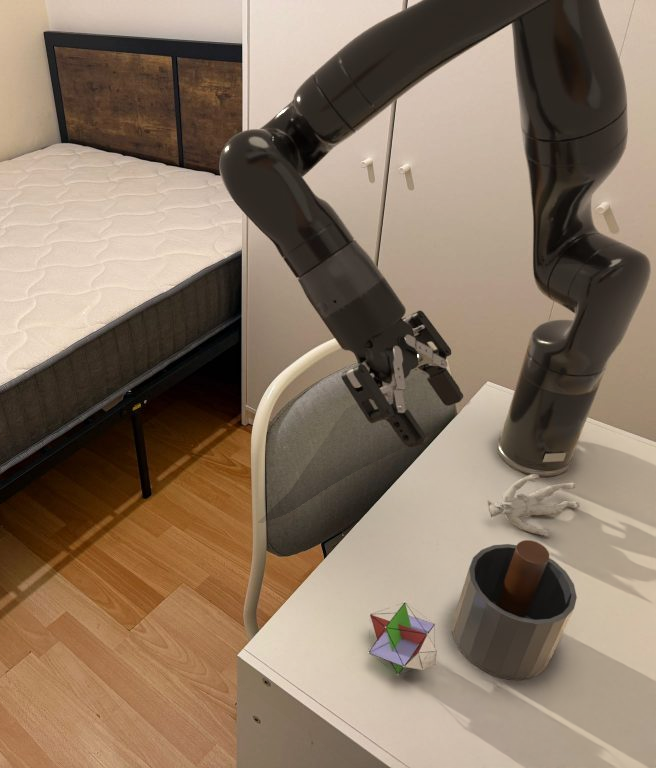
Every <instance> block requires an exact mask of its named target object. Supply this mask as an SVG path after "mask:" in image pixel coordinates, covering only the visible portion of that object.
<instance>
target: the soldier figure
mask: <svg viewBox="0 0 656 768" xmlns="http://www.w3.org/2000/svg"><path fill="white" fill-rule="evenodd" d="M539 478H540V476H539V475H537V474H531V475H530V474H528V475H527V476H525V477H523V478H521V479H519V480H517V481H515V482H514V483H513V484H511V485H510V486H509V488H508V489H507V490H506V491H505V493H503V495H502V500H501V501H502V502H501V503H499V502H493V501H491V500H489V499H488V500H487V505H488V512H489V515H490V519H492V520H493V519H494V518H495V517H497V516H500V515H502V514H503V515H505V517H506V519H507V521H508V522H510V523H511V524H513V525H514V526H516V527H517V528H518V529H520V530H522V531H526V532H528V533H531V534H532V533H533V534H537V535H541V536H547V537H550V536H551V535H552V534H551V533H552V531H550V529H541V528H537V527H534V526H532V525H529V524H528V523H525V522H523V521H522V520H521V519H520V518H522V519H524V518H527V517H531V516H547V515H560V514H561V513H562V511H563V510H564V509H565V508H567V507H568V508H573V509H578V508H580V506H581V504H580V502H578V501H570V500H563V502H561V503H558V504H553V505H550V504H540V503H541V502H542V501H543V500H545V499H546V498H549V497H551V496H553V495H554V494H555V493H556V492H557V491H560V490H562V489H563V490H574V489H575V488H576V487H577V486H576V485H577V484H576V483H575V482H568V483H565V482H563V483H559V484H551V485H548V486H543V487H541V488H540V489H539V490H536V491H533V492H532V493H530V494H523V493H519V494H517V495H516V492H517V491H519V490H520V489H521V488H522V487H524V485H525V484H526V483H527V482H536V480H535V479H539ZM515 495H516V496H515Z"/></svg>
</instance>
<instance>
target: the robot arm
mask: <svg viewBox="0 0 656 768" xmlns="http://www.w3.org/2000/svg"><path fill="white" fill-rule="evenodd" d="M510 25H511V30H512V42H513V43H512V44H513V58H514V59H513V60H514V71H515V79H516V89H517V98H518V107H519V108H518V109H519V120H520V129H521V137H522V143H523V151H524V155H525V161H526V167H527V172H528V180H529V191H530V200H531V209H532V236H533V237H532V271H533V272H532V273H533V279H534V282H535V286H536V287H537V289H538V290H539V291H540V293H542V294H543V295H544V296H545V297H546V298H548V299H549V300H551V301H553V302H555V303H556V304H558V305H559V306H561V307H563V308H565V309H567V310H568V311H570V312H572V313H573V314H574V318H573V319H570V318H569V319H568V318H565V319H564V318H562V319H561V318H560V319H553V320H548V321H544V322H542V323H540V324H538V325H537V326H536V327H535V328H534V329H533V330H532V332H531V334H530V337H529V340H528V344H527V347H526V350H525V354H524V356H523V361H522V364H521V368H520V371H519V375H518V378H517V381H516V384H515V388H514V392H513V395H512V398H511V402H510V404H509V407H508V412H507V415H506V418H505V421H504V424H503V428H502V431H501V434H500V436H499V438H498V441H497V445H496V447H497V452H498V455H499V457H501V459H502V460H503V461H504V462H505V463H506V464H507V465H508V466H510V467H512V468H513V469H515V470H516V471H519V472H521V473H524V474H526V475H531V474H537V475H539V477H554V476H555V477H556V476H558V475H561V474H563V473H565V472H566V471H567V470H568V469H569V467H570V465H571V462H572V461H573V460H572V459H573V456H574V453H575V450H576V447H577V445H578V443H579V439H580V438H581V435H582V432H583V429H584V427H585V424H586V421H587V419H588V416H589V414H590V411H591V408H592V406H593V403H594V401H595V399H596V396H597V394H598V390H599V388H600V385H601V382H602V380H603V377H604V375H605V372H606V370H607V367H608V364H609V362H610V359H611V357H612V356H613V354H614V353H615V352H616V350H617V349H618V347H619V346H620V345H621V343H622V342H623V339H624V337H625V335H626V334H627V331H628V329H629V327H630V324H631V322H632V320H633V317H634V315H635V313H636V312H637V310H638V307H639V305H640V303H641V301H642V299H643V297H644V294H645V293H646V290H647V288H648V285H649V281H650V277H651V271H652V265H651V261H650V259H649V257H648V256H647V255H646V254H645V253H643V252H642V251H640V250H639V249H636V248H633V247H631V246H630V245H627V244H625V243H623V242H621V241H619V240H616V239H615V238H612V237H610V236H608V235H607V234H603V233H602V232H600V231H599V230H598V228H596V226H595V224H594V220H593V214H592V213H593V212H592V197H593V195H594V193H595V192H596V191H597V190H598V188H600V186H601V185H602V184H603V183H604V182H605V181H606V180H607V179H608V178H609V176H610V175H611V174H612V173H613V172H614V170H615V169H616V168H617V166H618V165H619V163H620V161H621V160H622V157H623V155H624V154H625V151H626V148H627V143H628V137H629V136H628V133H629V126H628V124H629V122H628V121H629V120H628V95H627V87H626V81H625V75H624V71H623V67H622V63H621V61H620V56H619V54H618V51H617V48H616V45H615V43H614V39H613V37H612V34H611V32H610V29H609V26H608V23H607V21H606V18H605V15H604V12H603V10H602V7H601V4H600V0H420V1H418V2H416V3H414V4H413V5H412V4H411V6H408V7H407V8H405V9H403V10H401V11H398V12H396V13H395V14H393V15H391V16H388V17H387V18H385V19H383V20H381V21H379V22H378V23H375V24H373V25H372V26H371V27H369V28H368V29H366V30H364V31H363V32H361V33H359V34H358V35H357V36H356V37H354V38H353V39H352V40H351V41H349V42H347V44H346V45H344V46H343V47H342V48H341V49H339V50H338V51H337V52H336V53H335V54H334V55H333V56H332V57H330V58H329V59H328V60H327V61H326V62H324V63H323V64H322V65H321V66H320V67H319V68H318V69H316V70H315V71H314V73H312V74H311V75H309V77H308V78H306V79H305V81H303V82H302V84H301V85H300V86H299V87H298V88H297V89H296V91H295V93H294V95H293V99H292V100H291V101H290V102H289V103H288V104H287V105H286V106H285V107H283V109H281V110H280V111H279V112H278V113H277V114H276V115H275V116H273V117H272V118H271V119H270V120H269V121H268V122H266V123H265V124H264V125H263V126H261V127H260V128H252V129H246V130H243V131H240V132H238V133H237V134H235V135H233V136H232V137H231V138H230V139H229V140H227V142H226V143H225V145H224V147H223V148H222V149H221V153H220V157H219V164H218V165H219V168H218V169H219V174H220V178H221V181H222V183H223V185H224V188H225V190H226V191H227V193H228V194H229V196H230V197H231V199H232V200H233V202H234V203H235V204H236V206H237V207H238V208H239V209H240V210H241V211H242V212H243V213H244V215H246V217H247V218H248V219H249V220H250V221H251V222H252V223H253V224H254V225H255V226H256V228H257V229H259V230H260V231H261V232H262V233H263V234H264V235H265V236H266V237H267V239H269V240H270V241H271V242H272V244H273V245H274V246H275V248H276V250H277V251H278V253H279V255H280V256H281V258H282V259H283V261H284V262H285V263H286V265H287V267H288V268H289V269H290V271H291V272H292V274H293V275H294V277H295V279H297V281H298V283H299V284H300V287H301V288H302V291H303V293H304V294H305V297H306V298H307V299H308V301H309V304H311V305H312V308H313V309H314V310H315V312H316V313H317V314H318V316H319V317H320V319H321V320H322V322H323V323H324V325H325V326H326V327H327V330H328V331H329V332H330V333H331V335H332V336H333V338H334V339H335V341H336V342H337V344H338V345H339V347H340V348H341V349H342V350H344V351H349V352H351V353H353V354H354V356H355V359H356V361H357V364H356V365H355V366H354V367H351V368H349V369H346V370H345V371H343V372H341V375H340V376H341V380H342V382H343V383H344V385H345V386H346V388H347V389H348V391H349V393H350V395H351V396H352V397H353V399H354V400H355V402H356V404H357V406H358V407H359V408H360V410H361V412H362V414H363V415H364V417H365V418H366V420H367V421H368V423H370V424H375V423H377V422H380V421H386V422H388V423H389V425H390V426H391V428H392V429H393V430H394V433H395V434H396V435H397V437H398V438H399V439H400V441H401V442H402V443H403V444H404V445H406V446H407V447H408V448H414V447H417V446H420V445H421V446H422V445H423V444H424V443H425V442H426V441H427V440H428V436H427V435H426V433H425V431H424V430H423V428H422V427H421V426H420V425H419V423H418V422H417V420H416V419H415V417H414V416H413V414H412V412H411V411H410V410H409V409H408V408H406V401H405V397H404V391H405V390H406V388H407V385H406V378H408V376H409V375H410V373H411V371H412V370H413V371H417V372H419V373H421V374H423V375H425V376H428V377H427V378H426V380H427V382H428V383H429V384H430V386H431V388H432V389H433V391H434V392H435V393H436V395H437V397H438V398H439V400H440V401H441V402H442V403H443V405H444V406H447V407H449V406H452V405H455V404H458V403H461V401H462V400H463V399H464V394H463V393H462V391H461V388H460V386H459V385H458V383H457V382H456V380H455V379H454V377H453V376H452V375H451V373H450V371H449V370H448V369H447V368H448V361H447V358H448V357H450V356H451V355H452V349H451V347H450V346H449V344H447V342H446V341H445V339H444V338H443V337H442V335H441V334H440V333H439V331H438V330H437V329H436V327H435V326H434V324H433V323H432V322H431V321H430V319H429V318H428V316H427V315H426V314H425V312H424V311H422V310H417V311H415V312H412V313H410V314H409V315H407V316H405V314H406V311H407V310H406V307H405V305H404V303H402V301H401V300H400V297H398V295H397V293H396V292H395V291H394V289H393V288H392V286H391V285H390V283H389V282H388V280H387V279H386V277H385V276H384V275H383V273H382V272H381V270H380V269H379V267H378V266H377V264H376V263H375V261H374V260H373V259H372V257H371V256H370V255H369V253H368V252H367V251H366V250H365V249H364V248H363V247H362V246H361V244H360V243H359V242H358V241H357V240H356V239H355V237H354V235H353V234H352V232H351V231H350V230H349V228H348V227H347V225H346V224H345V222H344V221H343V219H342V218H341V216H340V215H339V214H338V213H337V211H336V210H335V208H334V207H333V206H332V205H331V204H330V202H328V201H326V199H323V198H321V197H319V196H318V195H317V194H315V193H314V191H313V190H312V189H311V186H310V185H309V184H308V183H307V181H306V180H305V179H304V177H305V176H306V175H307V174H308V173H309V172H310V171H312V169H313V168H315V167H316V166H317V165H318V164H319V163H320V162H321V161H323V159H324V158H325V157H326V156H327V155H329V153H330V152H331V151H332V150H333V149H334V148H336V147H337V146H338V145H340V144H341V143H343V142H344V141H346V140H348V139H349V138H350V137H352V136H353V135H354V134H356V133H357V132H358V131H360V130H361V129H362V128H363V127H364V126H366V125H367V124H368V123H370V122H371V121H372V120H374V118H376V117H377V116H378V115H380V114H381V113H383V112H384V111H385V110H386V109H387V108H389V106H391V105H392V104H393V103H395V102H396V101H397V100H398V99H399V98H401V97H402V96H404V95H405V94H406V93H408V92H409V91H410V90H412V88H414V87H415V86H417V85H418V84H419V83H421V82H422V81H424V80H425V79H426V78H428V77H429V76H431V75H432V74H434V73H435V72H437V71H438V70H440V69H442V68H443V67H444V66H447V64H449V63H450V62H452V61H453V60H455V59H456V58H459V56H461V55H463V54H465V53H466V52H467V51H469V50H471V49H473V48H474V47H476V46H477V45H479V44H481V43H482V42H484V41H486V40H487V39H489V38H491V37H492V36H494V35H495V34H497V33H498V32H500V31H502V30H503V29H505V28H507V27H509V26H510ZM429 343H432V344H433V345H434V347H435V348H436V349H433V348H432V347H431V346H430V345H429ZM383 383H384V384H386V385H384V384H383ZM389 397H391V401H392V403H390V400H389V399H390V398H389ZM370 400H371V401H373V403H374V404H375V406H376V407H377V408H375V407H374V406H373V404H372V402H371V401H370Z"/></svg>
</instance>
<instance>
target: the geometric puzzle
mask: <svg viewBox="0 0 656 768" xmlns="http://www.w3.org/2000/svg"><path fill="white" fill-rule="evenodd" d="M401 604H402V605H401ZM400 605H401V606H400ZM397 606H400V608H399V609H398V610H397V611H396V612H395V613H394V615H393V616H392V618H391V619H390V620H388V619H385V618H382V617H379V616H377V615H375V614H377V613H378V612H381V611H383V610H384V611H385V610H388V609H389V607H387V608H384V609H382V610H379V611H375V612H373V613H369V617H370V621H371V623H372V627H373V631H374V634H375V637H376V640H375V642H374V643H373V645H372V646H371V648H370V649H369V650H368V652H367V653H368V654H369V655H371V656H373V657H375V659H376V660H378V658H380V659H383V660H386V661H388V662H389V663H390V664H391V666H392V667H393V669H394V670H395V671H394V673H395V674H397V676H399V675H402V674H405V673H409V672H410V670H409V671H406V672H402V671H403V670H404V669H405V668H408V669H413V670H411V672H412V671H417V670H420V671H424V670H426V669H428V668H431V666H433V665H436V659H437V650H436V646H435V644H433V641H432V640H431V637H430V636H429V633H430V632H431V631H432V630H433V628H434V633H433V634H434V640H436V634H435V633H436V629H435V628H436V627H435V626H436V623H433V622H431V620H429V619H428V620H424V619H422V618H418V617H416V615H415V614H414V613H413V611H412V610H411V609H410V606H409V604H408V603H407V602H406V601H403V602H401V603H399V604H397ZM407 608H408V609H409V611H410V612H411V613H412V615H413V616H411V615H409V612H408V609H407ZM412 609H414V610H415V608H413V607H412ZM416 612H418V613H419V611H418V610H416ZM387 614H391V612H384V613H382V612H381V613H380V615H387ZM420 615H422V616H423V614H422V613H420ZM424 618H425V619H427V617H426V616H424ZM370 631H371V630H369V635H368V636H369V637H368V638H370V637H371V635H370V633H371V632H370ZM377 657H378V658H377ZM379 661H380V662H381V663H382V664H383V665H384V666H386V667H387V668H389V667H388V665H386V664H385V663H383V662H382V661H381V660H379ZM394 664H395V666H394ZM393 669H392V668H390V670H392V671H393Z"/></svg>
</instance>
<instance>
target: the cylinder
mask: <svg viewBox="0 0 656 768" xmlns="http://www.w3.org/2000/svg"><path fill="white" fill-rule="evenodd" d="M516 545H517V546H516V549H515V552H514V554H513V557H512V560H511V563H510V566H509V568H508V571H507V574H506V577H505V580H504V582H503V585H502V588H501V591H500V593H499V596H498V599H497V602H496V606H498V607H499V608H501V609H502V610H504V611H506V612H508V613H511V614H513V615H516V616H518V617H522V618H525V616H526V614H527V611H528V609H529V607H530V604H531V602H532V599H533V597H534V594H535V592H536V589H537V587H538V584H539V582H540V579H541V577H542V574H543V572H544V570H545V567H546V565H547V562H548V560H549V558H550V553H549V550H548V549H547V548H546V547H545V546H544V545H543V544H541V543H540V542H537V541H535V540H529V539H526V540H520V541H519V542H518V543H517V544H516Z"/></svg>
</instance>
